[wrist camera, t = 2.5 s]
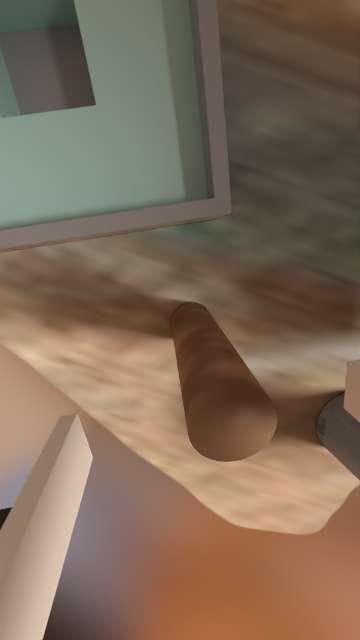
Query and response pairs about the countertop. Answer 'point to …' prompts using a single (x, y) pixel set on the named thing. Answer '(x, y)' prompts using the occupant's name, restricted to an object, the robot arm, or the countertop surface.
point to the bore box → (109, 118)
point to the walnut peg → (218, 390)
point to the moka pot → (340, 434)
